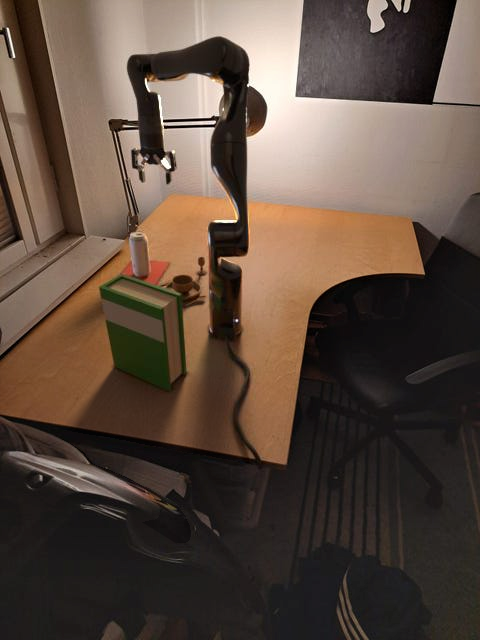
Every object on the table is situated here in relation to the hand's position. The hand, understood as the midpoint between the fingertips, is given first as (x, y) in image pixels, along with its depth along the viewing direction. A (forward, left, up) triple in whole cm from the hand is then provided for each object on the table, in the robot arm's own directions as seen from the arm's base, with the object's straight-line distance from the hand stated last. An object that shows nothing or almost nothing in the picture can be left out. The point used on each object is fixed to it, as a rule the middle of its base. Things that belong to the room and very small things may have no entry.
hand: (155, 182), depth 139 cm
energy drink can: (-9, +5, -30) cm, 32 cm away
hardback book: (-57, -14, -30) cm, 66 cm away
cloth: (-9, +5, -30) cm, 32 cm away
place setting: (-15, -15, -30) cm, 37 cm away
